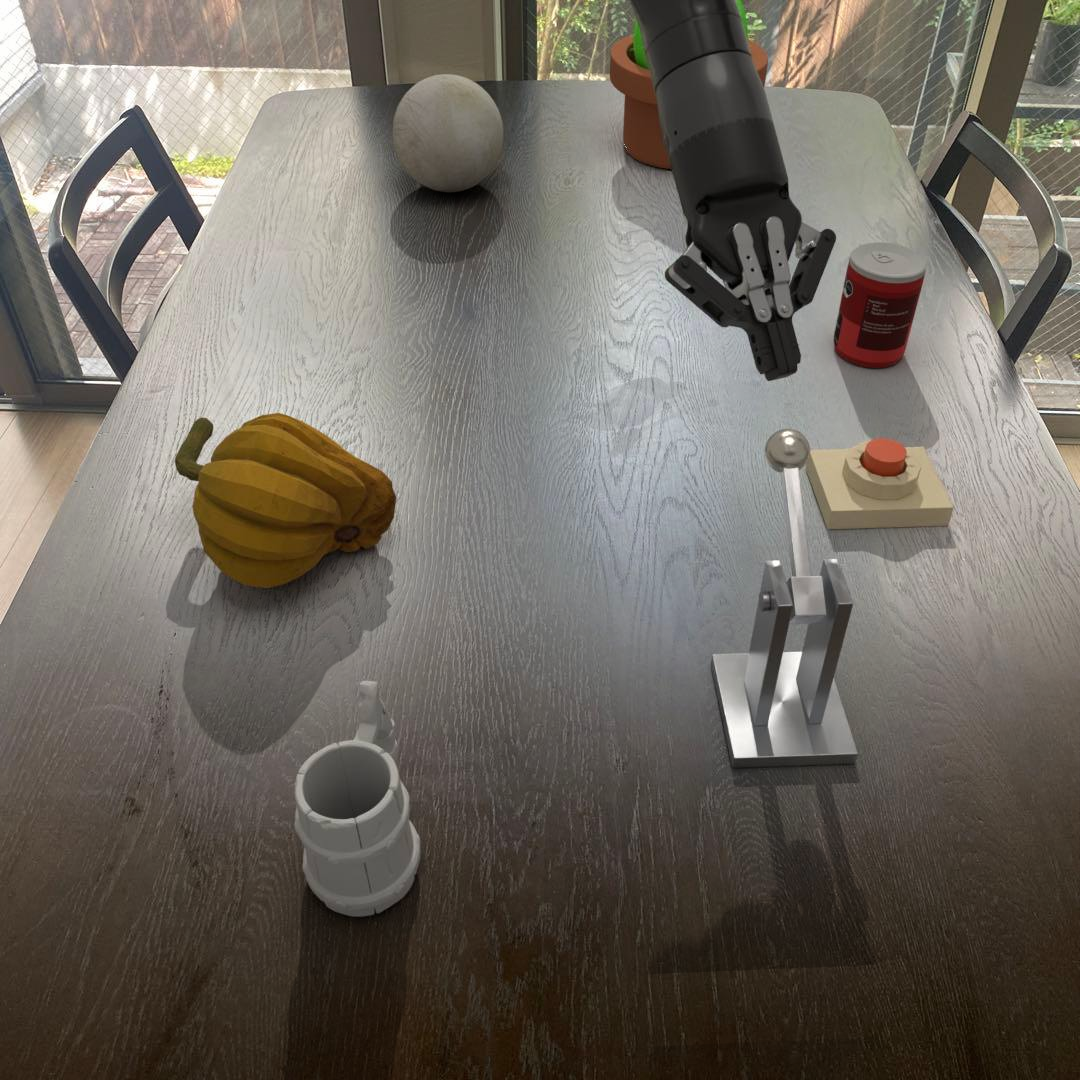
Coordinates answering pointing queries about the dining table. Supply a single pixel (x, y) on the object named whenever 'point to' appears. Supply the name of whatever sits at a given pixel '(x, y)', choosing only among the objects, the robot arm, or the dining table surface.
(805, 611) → the grey lever handle
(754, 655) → the metal lever switch
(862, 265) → the canned food
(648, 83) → the potted cactus
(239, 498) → the pumpkin
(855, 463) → the button box
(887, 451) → the button
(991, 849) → the dining table surface
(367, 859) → the mug
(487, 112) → the decorative sphere
